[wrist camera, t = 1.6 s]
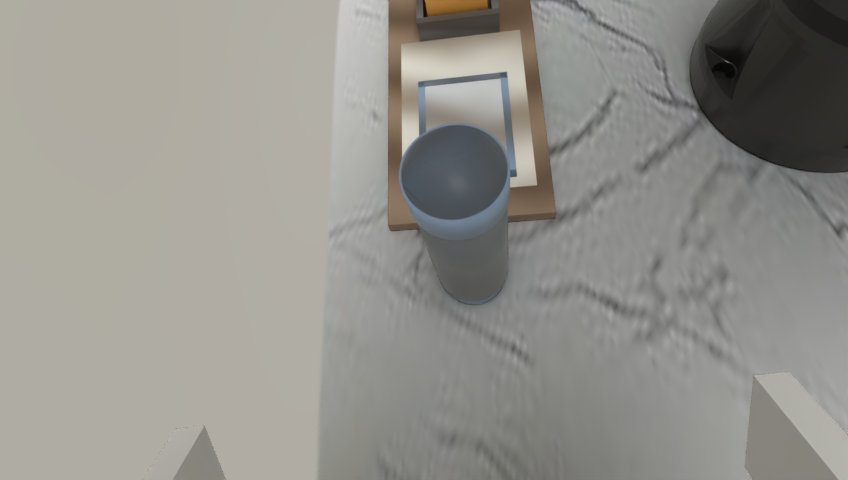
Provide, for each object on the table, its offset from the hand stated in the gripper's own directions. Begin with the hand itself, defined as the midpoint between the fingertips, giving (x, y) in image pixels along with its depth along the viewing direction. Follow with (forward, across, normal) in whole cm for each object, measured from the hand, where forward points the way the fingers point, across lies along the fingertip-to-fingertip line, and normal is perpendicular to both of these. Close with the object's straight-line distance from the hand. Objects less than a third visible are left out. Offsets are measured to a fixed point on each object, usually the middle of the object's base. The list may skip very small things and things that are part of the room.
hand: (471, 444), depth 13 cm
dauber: (+21, 0, -6) cm, 22 cm away
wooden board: (+32, +1, +4) cm, 32 cm away
